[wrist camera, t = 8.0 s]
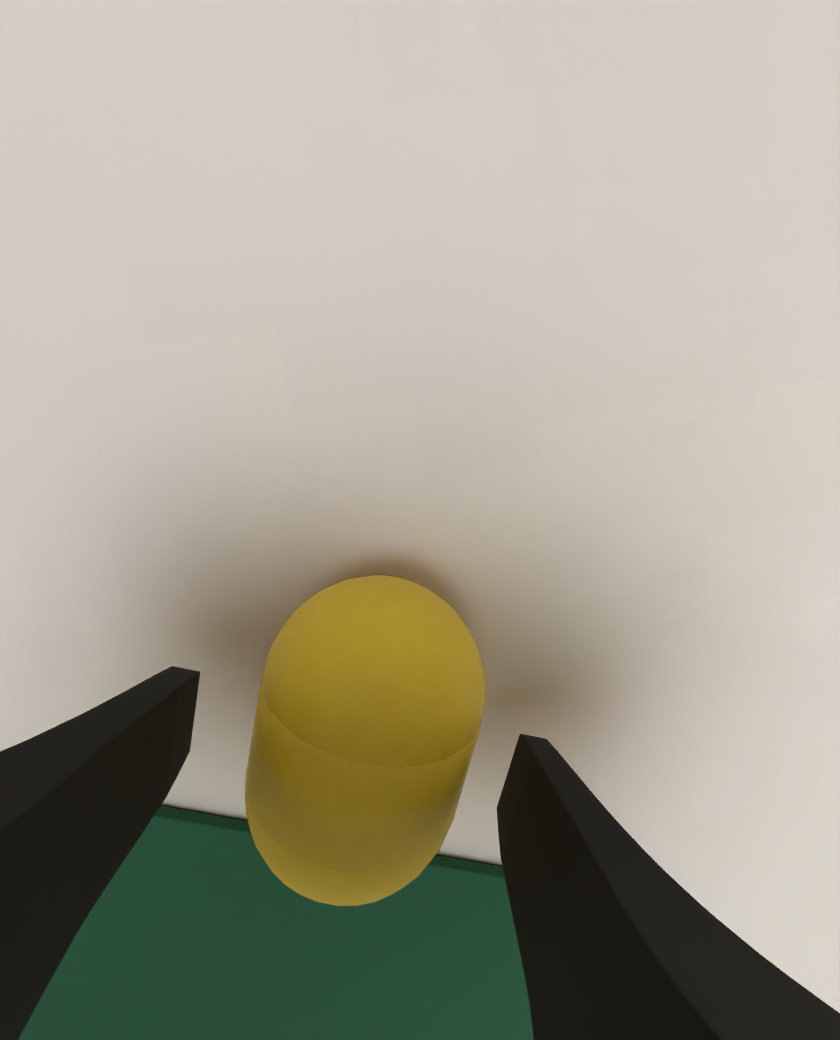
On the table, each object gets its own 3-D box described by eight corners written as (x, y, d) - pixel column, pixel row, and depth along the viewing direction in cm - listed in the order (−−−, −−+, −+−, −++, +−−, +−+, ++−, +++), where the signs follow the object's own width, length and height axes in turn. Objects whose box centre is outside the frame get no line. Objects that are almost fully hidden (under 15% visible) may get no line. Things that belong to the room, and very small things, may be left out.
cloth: (543, 1144, 18) (545, 1160, 18) (-17, 1061, 17) (-27, 1076, 17) (651, 892, 16) (657, 905, 15) (-13, 773, 14) (-25, 784, 14)
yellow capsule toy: (423, 791, 15) (444, 976, 10) (258, 771, 14) (200, 959, 10) (484, 565, 13) (542, 665, 8) (298, 530, 12) (253, 618, 8)
